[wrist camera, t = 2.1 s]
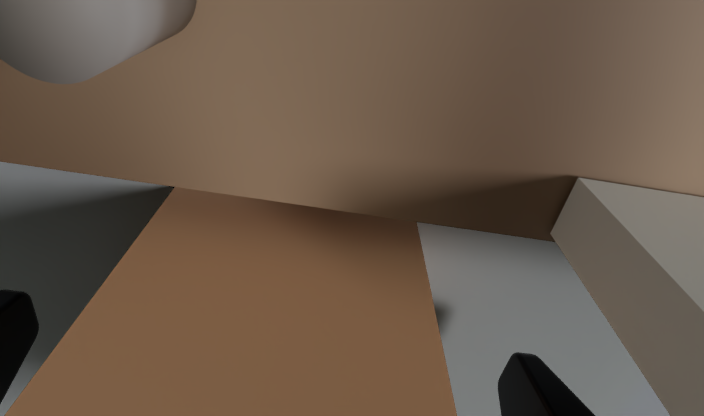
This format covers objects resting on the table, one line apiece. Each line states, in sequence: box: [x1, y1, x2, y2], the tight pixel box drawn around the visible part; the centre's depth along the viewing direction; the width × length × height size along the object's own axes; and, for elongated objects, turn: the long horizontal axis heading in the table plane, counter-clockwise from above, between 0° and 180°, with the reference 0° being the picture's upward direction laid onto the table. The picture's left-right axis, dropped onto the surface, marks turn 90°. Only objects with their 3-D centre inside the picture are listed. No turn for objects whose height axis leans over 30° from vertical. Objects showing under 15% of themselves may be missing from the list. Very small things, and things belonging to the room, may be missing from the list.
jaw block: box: [4, 187, 457, 416], centre depth 7 cm, size 4×4×5 cm
